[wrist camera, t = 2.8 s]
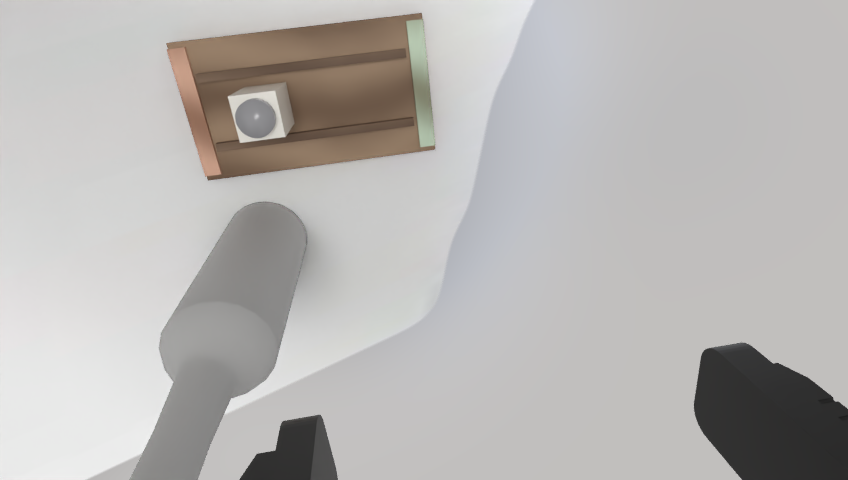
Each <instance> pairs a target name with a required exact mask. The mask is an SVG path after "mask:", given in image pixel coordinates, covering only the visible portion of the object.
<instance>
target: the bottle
mask: <svg viewBox="0 0 848 480" xmlns="http://www.w3.org/2000/svg"><path fill="white" fill-rule="evenodd" d="M306 244H307V236H306V230H305V228H304V226H303V223H302V222H301V220H300V219H299V218H298V217H297V216H296V214H295V213H293V212H292V211H291V210H289V209H288V208H286V207H284V206H282V205H279V204H276V203H271V202H258V203H253V204H250V205H248V206H245V207H244V208H242V209H241V210H240V211H238V212H237V213H236V214H235V215H234V217H233V218H232V220H231V221H230V223H229V224H228V226H227V227H226V229H225V231H224V232H223V234H222V235H221V237H220V239H219V240H218V242H217V243H216V245H215V247H214V248H213V250H212V252H211V253H210V255H209V256H208V258H207V260H206V261H205V263H204V264H203V266H202V268H201V269H200V271H199V272H198V274H197V276H196V277H195V279H194V280H193V282H192V284H191V285H190V287H189V289H188V290H187V292H186V293H185V295H184V297H183V298H182V300H181V301H180V303H179V305H178V306H177V308H176V309H175V311H174V313H173V314H172V316H171V318H170V319H169V321H168V322H167V324H166V326H165V327H164V329H163V331H162V333H161V337H160V344H159V351H160V354H161V358H162V362H163V365H164V369H165V371H166V372H167V374H168V375H169V376H170V378H171V379H172V381H173V382H174V383H173V385H172V387H171V390H170V392H169V395H168V397H167V400H166V402H165V404H164V407H163V409H162V412H161V414H160V417H159V419H158V422H157V424H156V426H155V429H154V431H153V433H152V435H151V437H150V439H149V441H148V443H147V445H146V447H145V449H144V451H143V453H142V455H141V458H140V460H139V462H138V464H137V466H136V468H135V470H134V472H133V474H132V476H131V478H130V480H198V477H199V474H200V471H201V469H202V466H203V463H204V460H205V458H206V455H207V452H208V450H209V447H210V444H211V442H212V440H213V437H214V435H215V433H216V431H217V428H218V426H219V424H220V422H221V419H222V417H223V415H224V413H225V410H226V408H227V406H228V404H229V401H230V399H231V398H234V397H237V396H240V395H243V394H245V393H248V392H249V391H251V390H252V389H254V388H255V387H256V386H258V385H259V384H261V383H262V382H263V381H265V380H266V379H267V377H268V376H269V374H270V373H271V372H272V370H273V369H274V367H275V364H276V360H277V356H278V352H279V349H280V345H281V341H282V337H283V333H284V330H285V326H286V322H287V318H288V314H289V311H290V307H291V303H292V299H293V295H294V292H295V288H296V284H297V280H298V276H299V273H300V269H301V265H302V261H303V257H304V252H305V248H306Z"/></svg>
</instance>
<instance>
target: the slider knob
mask: <svg viewBox="0 0 848 480" xmlns="http://www.w3.org/2000/svg"><path fill="white" fill-rule="evenodd" d="M228 100H229V104H230V107H231V111H232V115H233V119H234V122H235V126H236V130H237V134H238V137H239V141H240V143H244V142H251V141H259V140H266V139H274V138H281V137H286V136H287V134H288V132H289V131H290V129H291V128H292V126H293V125H294V123H295V122H294V118H293V113H292V109H291V104H290V99H289V95H288V90H287V85H286V82H282V83H274V84H266V85H258V86H250V87H244V88H242V89H240V90H238V91H237V92H235V93H233V94H231V95H229V96H228Z"/></svg>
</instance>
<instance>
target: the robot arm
mask: <svg viewBox="0 0 848 480" xmlns="http://www.w3.org/2000/svg"><path fill="white" fill-rule="evenodd" d="M694 411H695V416H696V419H697V422H698V424H699V426H700V428H701V430H702V432H703V433H704V435H705V436H706V437H707V438H708V440H709V441H710V442H711V443H712V444H713V446H714V447H715V448H716V449H717V450H718V452H719V453H720V454H721V455H722V456H723V457H724V459H725V460H726V461H727V462H728V463H729V465H730V466H731V467H732V468H733V469H734V471H735V472H736V473H737V474H738V475H739V477H740V478H741V479H742V480H848V409H847V408H846V407H845V406H843V405H842V404H841V403H840V402H835V401H834V400H833V397H832V396H831V395H829V394H828V393H827V392H826V391H824V390H823V389H822V388H820V387H819V386H818V385H817V384H815V383H814V382H813V381H811V380H810V379H809V378H807V377H805V376H803V375H801V374H799V373H797V372H795V371H793V370H791V369H789V368H787V367H785V366H783V365H781V364H779V363H775V364H773V363H772V362H770V361H769V360H768V359H767V358H765V357H764V356H763V355H762V354H761V353H759V352H758V351H757V350H756V349H754V348H753V347H752V346H750V345H749V344H746V343H737V344H732V345H726V346H720V347H714V348H709V349H706V350H704V352H703V353H702V356H701V361H700V368H699V375H698V381H697V388H696V394H695V401H694ZM240 480H338V478H337V472H336V467H335V463H334V459H333V455H332V452H331V448H330V444H329V440H328V437H327V433H326V429H325V425H324V422H323V419H322V417H321V415H316V416H310V417H304V418H298V419H293V420H287V421H283V422H282V424H281V426H280V431H279V436H278V441H277V446H276V451H271V452H265V453H260V454H257V455H256V456H255V458H254V459H253V461H252V462H251V463H250V465H249V466H248V468H247V469H246V471H245V473H244V474H243V475H242V477H241V478H240Z"/></svg>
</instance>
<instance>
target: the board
mask: <svg viewBox="0 0 848 480" xmlns="http://www.w3.org/2000/svg"><path fill="white" fill-rule="evenodd" d="M166 44H167V47H168V49H167V52H168V56H169V59H170V62H171V65H172V69H173V72H174V75H175V79H176V82H177V85H178V88H179V92H180V95H181V98H182V101H183V105H184V108H185V111H186V115H187V118H188V121H189V124H190V128H191V131H192V134H193V137H194V141H195V144H196V147H197V150H198V154H199V157H200V160H201V164H202V167H203V170H204V173H205V177H206V176H207V179H208V180H214V179H222V178H229V177H236V176H244V175H251V174H258V173H266V172H273V171H280V170H287V169H295V168H302V167H309V166H317V165H324V164H331V163H339V162H346V161H353V160H361V159H368V158H375V157H383V156H390V155H397V154H405V153H412V152H419V151H427V150H434V149H435V137H434V127H433V117H432V107H431V97H430V87H429V77H428V67H427V56H426V46H425V36H424V26H423V19H422V13H419V14H410V15H402V16H393V17H385V18H376V19H368V20H359V21H351V22H342V23H334V24H325V25H317V26H308V27H300V28H291V29H283V30H274V31H266V32H257V33H249V34H240V35H232V36H223V37H215V38H206V39H198V40H189V41H181V42H172V43H166ZM282 82H286V85H287V90H288V95H289V99H290V104H291V109H292V113H293V118H294V122H295V123H294V125H293V126H292V128H291V129H290V131H289V132H288V134H287V136H286V137H281V138H274V139H266V140H259V141H251V142H244V143H240V141H239V137H238V134H237V130H236V126H235V122H234V119H233V115H232V111H231V107H230V104H229V100H228V96H229V95H231V94H233V93H235V92H237V91H238V90H240V89H242V88H244V87H250V86H258V85H266V84H274V83H282Z"/></svg>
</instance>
